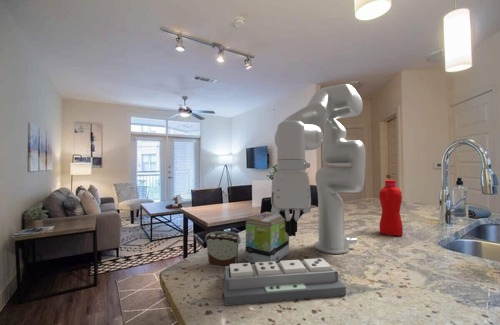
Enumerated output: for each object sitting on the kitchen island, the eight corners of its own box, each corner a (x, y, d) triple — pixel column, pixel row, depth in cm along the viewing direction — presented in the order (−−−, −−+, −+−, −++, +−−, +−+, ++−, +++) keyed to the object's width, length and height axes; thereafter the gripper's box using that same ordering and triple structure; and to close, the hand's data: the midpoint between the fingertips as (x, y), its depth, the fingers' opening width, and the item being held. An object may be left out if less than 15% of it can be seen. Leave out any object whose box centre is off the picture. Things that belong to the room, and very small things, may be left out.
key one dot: (298, 267, 68) (298, 258, 68) (306, 276, 63) (305, 267, 63) (279, 268, 68) (279, 260, 68) (285, 277, 62) (285, 268, 62)
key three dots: (322, 265, 69) (322, 257, 69) (331, 274, 64) (331, 265, 64) (303, 266, 68) (303, 258, 69) (311, 275, 63) (311, 266, 63)
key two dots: (250, 270, 66) (250, 262, 66) (253, 279, 61) (252, 270, 61) (229, 271, 66) (229, 263, 66) (230, 281, 60) (230, 272, 60)
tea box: (271, 268, 76) (270, 221, 76) (244, 261, 81) (244, 218, 81) (289, 253, 88) (289, 213, 88) (265, 248, 94) (265, 210, 94)
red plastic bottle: (402, 231, 115) (402, 179, 115) (402, 237, 106) (401, 180, 106) (380, 229, 120) (380, 179, 120) (379, 234, 111) (378, 180, 111)
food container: (246, 262, 81) (246, 232, 81) (239, 269, 75) (239, 237, 75) (213, 257, 85) (213, 229, 85) (204, 264, 79) (204, 234, 79)
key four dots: (274, 268, 67) (274, 260, 67) (279, 277, 62) (279, 269, 62) (255, 270, 67) (255, 261, 67) (258, 279, 61) (258, 270, 61)
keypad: (321, 270, 74) (321, 255, 74) (345, 295, 60) (345, 276, 60) (223, 277, 70) (223, 261, 70) (224, 305, 56) (224, 285, 56)
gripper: (311, 167, 70) (312, 230, 69) (261, 166, 68) (261, 232, 67) (323, 167, 63) (323, 238, 62) (266, 166, 61) (266, 239, 60)
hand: (290, 234), depth 65 cm, fingers closed
